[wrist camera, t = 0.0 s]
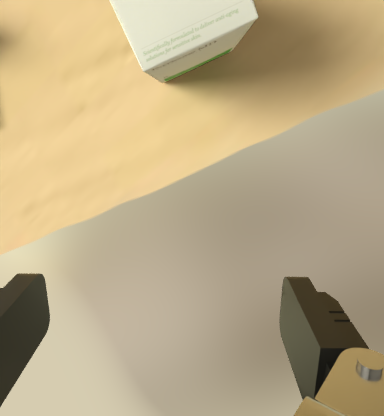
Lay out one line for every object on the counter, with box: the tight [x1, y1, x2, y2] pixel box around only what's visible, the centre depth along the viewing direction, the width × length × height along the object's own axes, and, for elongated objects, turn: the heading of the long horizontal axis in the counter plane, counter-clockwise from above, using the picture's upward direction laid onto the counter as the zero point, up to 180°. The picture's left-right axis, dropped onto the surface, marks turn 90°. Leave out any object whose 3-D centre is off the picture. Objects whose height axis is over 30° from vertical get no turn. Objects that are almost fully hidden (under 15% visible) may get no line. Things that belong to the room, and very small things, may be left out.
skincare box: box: [110, 0, 258, 83], centre depth 29 cm, size 8×7×16 cm
